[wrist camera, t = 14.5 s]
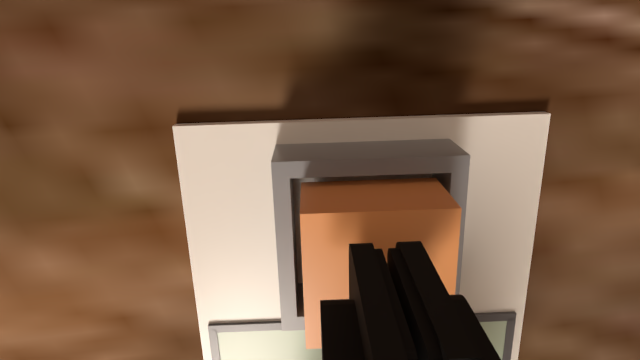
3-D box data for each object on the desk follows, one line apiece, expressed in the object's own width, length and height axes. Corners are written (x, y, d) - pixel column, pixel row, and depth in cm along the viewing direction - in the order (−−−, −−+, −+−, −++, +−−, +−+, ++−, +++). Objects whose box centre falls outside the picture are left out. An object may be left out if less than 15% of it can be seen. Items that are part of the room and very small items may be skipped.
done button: (435, 177, 14) (461, 208, 11) (429, 294, 15) (451, 343, 13) (301, 182, 14) (300, 214, 11) (306, 299, 15) (305, 349, 13)
